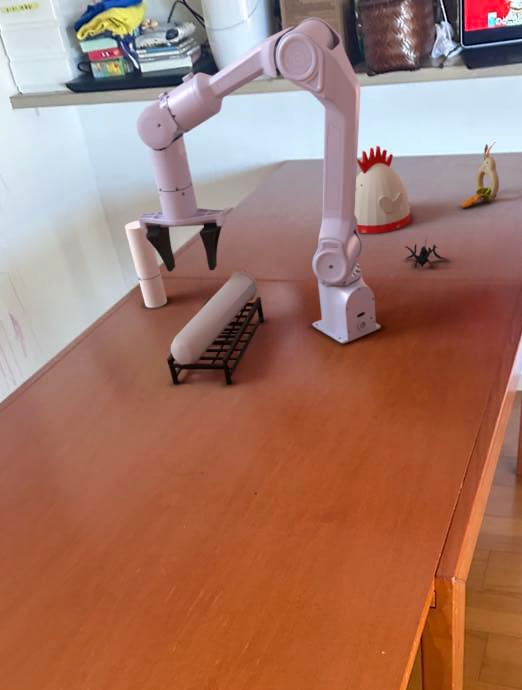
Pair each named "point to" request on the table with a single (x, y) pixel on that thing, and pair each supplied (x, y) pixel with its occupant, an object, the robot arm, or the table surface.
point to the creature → (423, 255)
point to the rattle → (482, 192)
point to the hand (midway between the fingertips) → (192, 268)
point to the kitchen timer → (379, 195)
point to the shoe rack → (233, 344)
